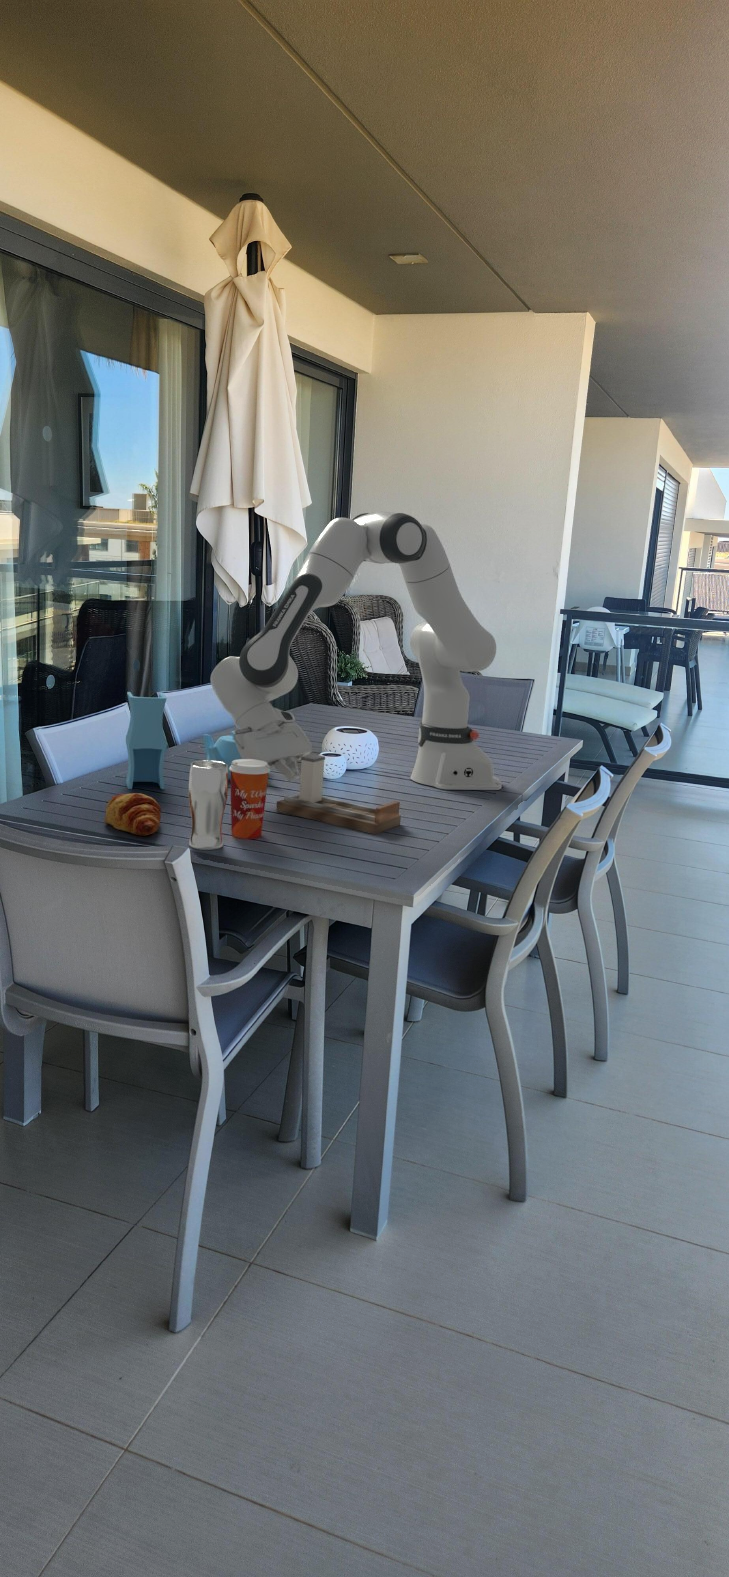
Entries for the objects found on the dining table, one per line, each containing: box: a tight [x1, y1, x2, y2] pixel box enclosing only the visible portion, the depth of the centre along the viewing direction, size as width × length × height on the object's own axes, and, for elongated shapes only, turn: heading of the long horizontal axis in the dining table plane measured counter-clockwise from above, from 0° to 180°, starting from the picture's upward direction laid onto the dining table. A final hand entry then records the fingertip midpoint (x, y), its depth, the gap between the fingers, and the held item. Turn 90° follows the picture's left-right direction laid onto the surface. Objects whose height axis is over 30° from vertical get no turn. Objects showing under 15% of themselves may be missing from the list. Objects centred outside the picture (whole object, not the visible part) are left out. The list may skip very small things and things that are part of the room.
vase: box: [125, 691, 168, 790], centre depth 218 cm, size 8×8×20 cm
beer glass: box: [188, 759, 229, 851], centre depth 178 cm, size 7×7×15 cm
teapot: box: [202, 730, 242, 782], centre depth 234 cm, size 15×15×11 cm
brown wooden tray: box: [276, 794, 402, 835], centre depth 205 cm, size 24×10×5 cm, turn 59°
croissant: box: [104, 792, 162, 837], centre depth 188 cm, size 21×10×8 cm, turn 31°
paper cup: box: [229, 759, 272, 840], centre depth 186 cm, size 8×8×14 cm
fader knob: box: [298, 753, 326, 803], centre depth 207 cm, size 3×4×9 cm
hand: (295, 778), depth 209 cm, fingers closed
